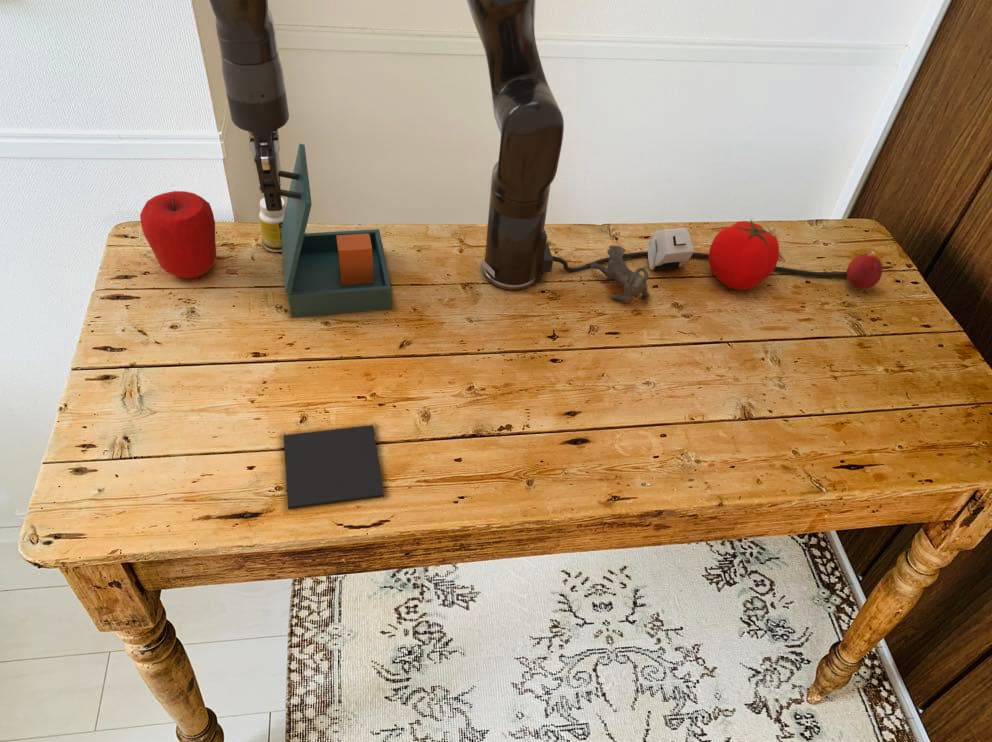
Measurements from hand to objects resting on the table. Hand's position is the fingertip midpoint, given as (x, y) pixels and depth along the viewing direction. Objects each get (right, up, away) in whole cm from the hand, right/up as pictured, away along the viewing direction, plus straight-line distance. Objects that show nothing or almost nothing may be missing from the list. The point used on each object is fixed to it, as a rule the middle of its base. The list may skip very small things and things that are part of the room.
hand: (273, 196), depth 118 cm
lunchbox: (+6, -10, +14) cm, 19 cm away
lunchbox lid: (+2, -3, +4) cm, 5 cm away
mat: (+11, -39, -11) cm, 42 cm away
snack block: (+9, -9, +14) cm, 19 cm away
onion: (+97, -10, +28) cm, 101 cm away
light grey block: (+62, -6, +27) cm, 67 cm away
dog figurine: (+53, -11, +21) cm, 58 cm away
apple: (-18, -9, +13) cm, 23 cm away
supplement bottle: (-5, -3, +19) cm, 20 cm away
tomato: (+74, -8, +26) cm, 79 cm away
